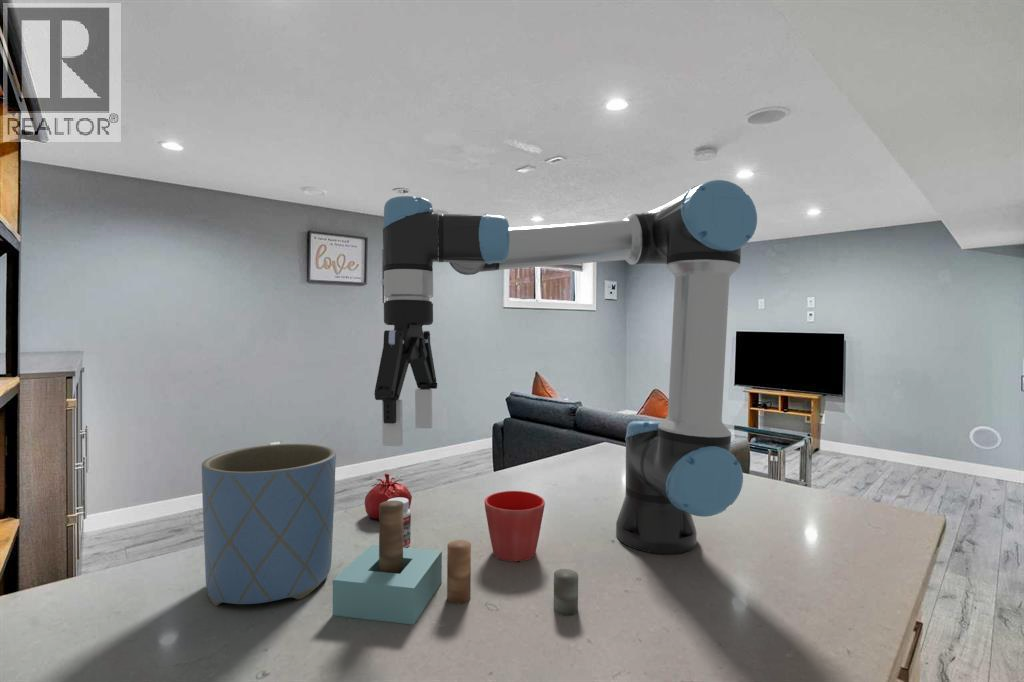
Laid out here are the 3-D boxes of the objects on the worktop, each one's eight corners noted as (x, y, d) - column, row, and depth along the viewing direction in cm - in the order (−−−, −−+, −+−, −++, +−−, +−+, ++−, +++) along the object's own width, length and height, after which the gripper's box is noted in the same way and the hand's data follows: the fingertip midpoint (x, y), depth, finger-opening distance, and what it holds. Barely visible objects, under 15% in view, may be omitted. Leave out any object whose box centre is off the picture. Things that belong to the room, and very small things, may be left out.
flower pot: (525, 572, 84) (526, 514, 84) (472, 556, 90) (473, 502, 89) (554, 549, 93) (555, 497, 93) (504, 536, 99) (505, 487, 98)
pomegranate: (389, 528, 103) (389, 483, 102) (354, 519, 108) (354, 476, 107) (421, 513, 111) (421, 471, 111) (387, 504, 116) (387, 464, 116)
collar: (441, 582, 80) (441, 551, 80) (413, 624, 68) (414, 588, 68) (371, 575, 82) (371, 544, 82) (332, 615, 70) (332, 579, 70)
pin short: (578, 603, 74) (578, 570, 74) (577, 616, 71) (577, 581, 70) (554, 601, 75) (555, 567, 75) (552, 614, 71) (552, 579, 71)
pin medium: (473, 593, 77) (473, 540, 77) (467, 605, 73) (467, 550, 73) (451, 590, 77) (451, 539, 77) (444, 602, 74) (444, 548, 74)
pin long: (406, 592, 77) (407, 501, 77) (397, 604, 73) (397, 509, 73) (384, 590, 77) (385, 499, 77) (374, 602, 74) (375, 507, 74)
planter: (343, 552, 91) (344, 442, 91) (322, 609, 72) (323, 470, 72) (229, 559, 88) (230, 445, 87) (176, 620, 69) (176, 475, 69)
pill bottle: (404, 551, 91) (404, 505, 91) (380, 549, 92) (380, 503, 92) (414, 541, 96) (414, 497, 96) (391, 539, 97) (391, 495, 97)
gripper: (413, 304, 91) (414, 421, 91) (347, 293, 66) (349, 453, 67) (453, 304, 90) (454, 422, 90) (401, 292, 65) (403, 455, 65)
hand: (409, 436), depth 78 cm, fingers open, 13 cm apart
